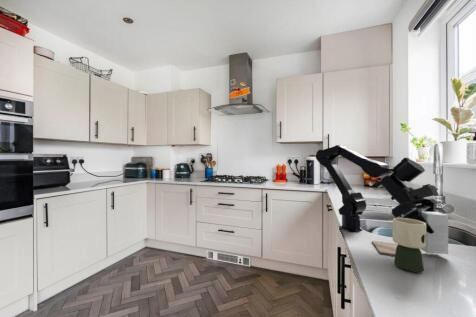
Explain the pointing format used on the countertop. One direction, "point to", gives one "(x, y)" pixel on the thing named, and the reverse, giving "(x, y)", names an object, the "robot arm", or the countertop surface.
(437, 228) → the skincare box
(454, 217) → the countertop surface
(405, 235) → the character mug
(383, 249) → the curved brown sheet
